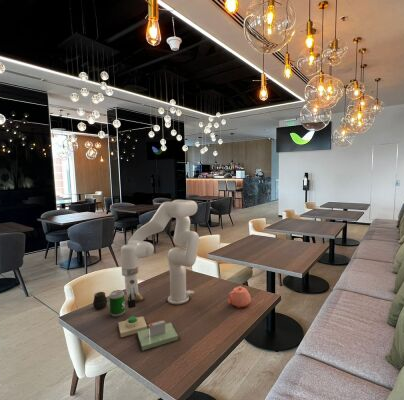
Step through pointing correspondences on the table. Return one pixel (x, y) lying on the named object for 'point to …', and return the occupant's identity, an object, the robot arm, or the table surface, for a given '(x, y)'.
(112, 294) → the soda can
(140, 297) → the chocolate bunny
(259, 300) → the table surface
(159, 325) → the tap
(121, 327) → the button box
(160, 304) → the table surface
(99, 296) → the mate gourd
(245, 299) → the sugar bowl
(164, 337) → the panel
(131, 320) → the button
